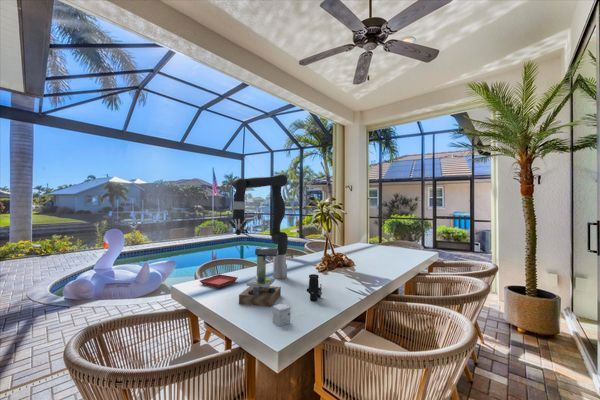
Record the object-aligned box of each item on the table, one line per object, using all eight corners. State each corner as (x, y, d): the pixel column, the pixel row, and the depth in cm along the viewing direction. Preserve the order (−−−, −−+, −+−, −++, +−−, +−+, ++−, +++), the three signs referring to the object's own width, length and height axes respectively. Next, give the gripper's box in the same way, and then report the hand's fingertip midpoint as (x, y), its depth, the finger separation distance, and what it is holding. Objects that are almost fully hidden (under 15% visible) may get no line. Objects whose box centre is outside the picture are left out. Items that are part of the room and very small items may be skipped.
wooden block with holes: (238, 304, 140) (239, 287, 140) (251, 292, 158) (252, 277, 158) (270, 307, 137) (271, 289, 137) (280, 295, 154) (280, 280, 154)
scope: (322, 273, 153) (320, 277, 143) (322, 297, 152) (320, 303, 143) (308, 272, 154) (305, 276, 144) (308, 295, 154) (305, 302, 144)
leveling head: (246, 289, 142) (246, 249, 142) (255, 282, 155) (256, 245, 155) (272, 291, 139) (273, 250, 139) (279, 284, 152) (280, 246, 152)
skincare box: (279, 326, 115) (279, 309, 115) (272, 321, 120) (272, 305, 120) (290, 323, 119) (291, 306, 119) (283, 318, 124) (283, 302, 124)
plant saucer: (198, 285, 173) (198, 280, 173) (219, 278, 189) (219, 273, 189) (218, 289, 164) (219, 284, 164) (238, 282, 180) (238, 277, 180)
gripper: (226, 208, 171) (226, 235, 171) (245, 208, 168) (245, 236, 168) (232, 208, 178) (231, 234, 178) (250, 208, 175) (250, 234, 175)
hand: (238, 234), depth 173 cm, fingers closed
